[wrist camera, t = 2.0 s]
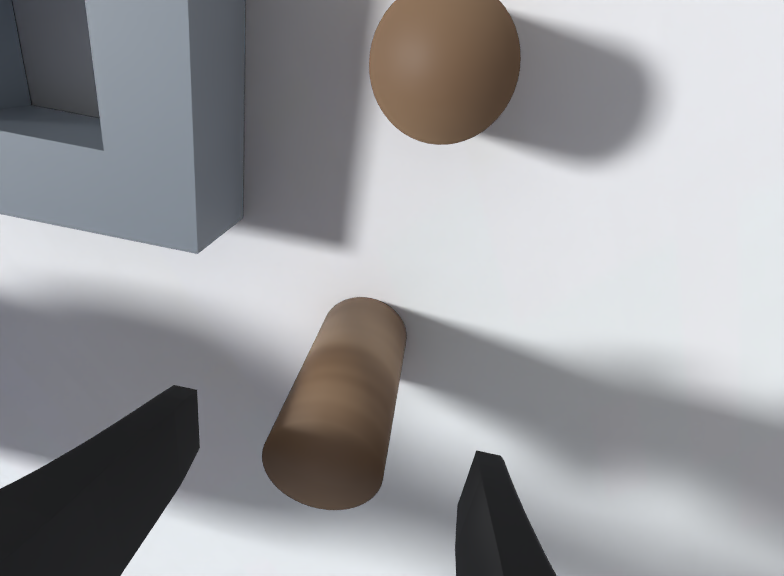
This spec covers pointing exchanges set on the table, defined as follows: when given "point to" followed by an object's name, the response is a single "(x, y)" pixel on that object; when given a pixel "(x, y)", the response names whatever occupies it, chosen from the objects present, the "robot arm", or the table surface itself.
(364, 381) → the long dowel
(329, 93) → the table surface
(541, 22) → the table surface
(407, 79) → the short dowel
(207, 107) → the hole block
